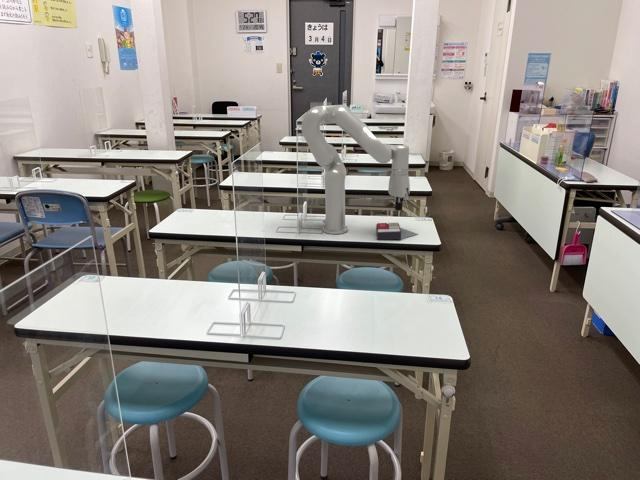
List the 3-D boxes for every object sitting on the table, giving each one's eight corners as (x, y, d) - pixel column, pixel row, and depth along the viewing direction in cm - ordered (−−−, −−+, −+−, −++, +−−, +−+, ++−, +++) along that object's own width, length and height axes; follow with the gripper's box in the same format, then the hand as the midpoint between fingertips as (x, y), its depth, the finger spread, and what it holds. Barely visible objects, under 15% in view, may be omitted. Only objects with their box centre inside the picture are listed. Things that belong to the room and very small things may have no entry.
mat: (383, 232, 230) (383, 232, 230) (400, 228, 236) (400, 227, 236) (401, 239, 221) (401, 238, 221) (417, 234, 227) (417, 233, 227)
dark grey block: (398, 221, 233) (401, 230, 218) (398, 230, 234) (401, 239, 220) (376, 222, 234) (376, 231, 219) (376, 230, 235) (377, 239, 221)
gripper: (382, 170, 224) (382, 208, 231) (405, 175, 213) (404, 215, 219) (394, 168, 228) (393, 205, 235) (417, 173, 217) (415, 211, 223)
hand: (398, 209), depth 227 cm, fingers closed
